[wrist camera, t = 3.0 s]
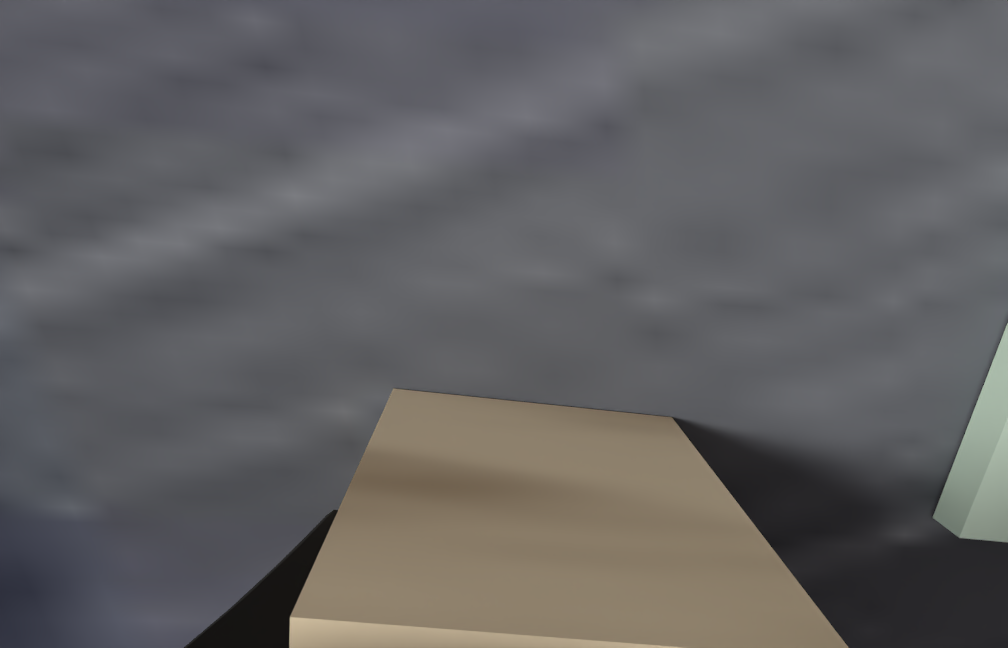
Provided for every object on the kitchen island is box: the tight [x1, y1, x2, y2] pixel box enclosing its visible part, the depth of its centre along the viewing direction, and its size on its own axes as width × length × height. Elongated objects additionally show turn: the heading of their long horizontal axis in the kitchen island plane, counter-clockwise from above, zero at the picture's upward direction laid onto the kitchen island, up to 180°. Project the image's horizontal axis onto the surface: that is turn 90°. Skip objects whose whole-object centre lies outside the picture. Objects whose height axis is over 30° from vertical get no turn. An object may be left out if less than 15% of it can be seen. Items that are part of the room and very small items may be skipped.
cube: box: [289, 389, 849, 648], centre depth 8 cm, size 5×5×5 cm
